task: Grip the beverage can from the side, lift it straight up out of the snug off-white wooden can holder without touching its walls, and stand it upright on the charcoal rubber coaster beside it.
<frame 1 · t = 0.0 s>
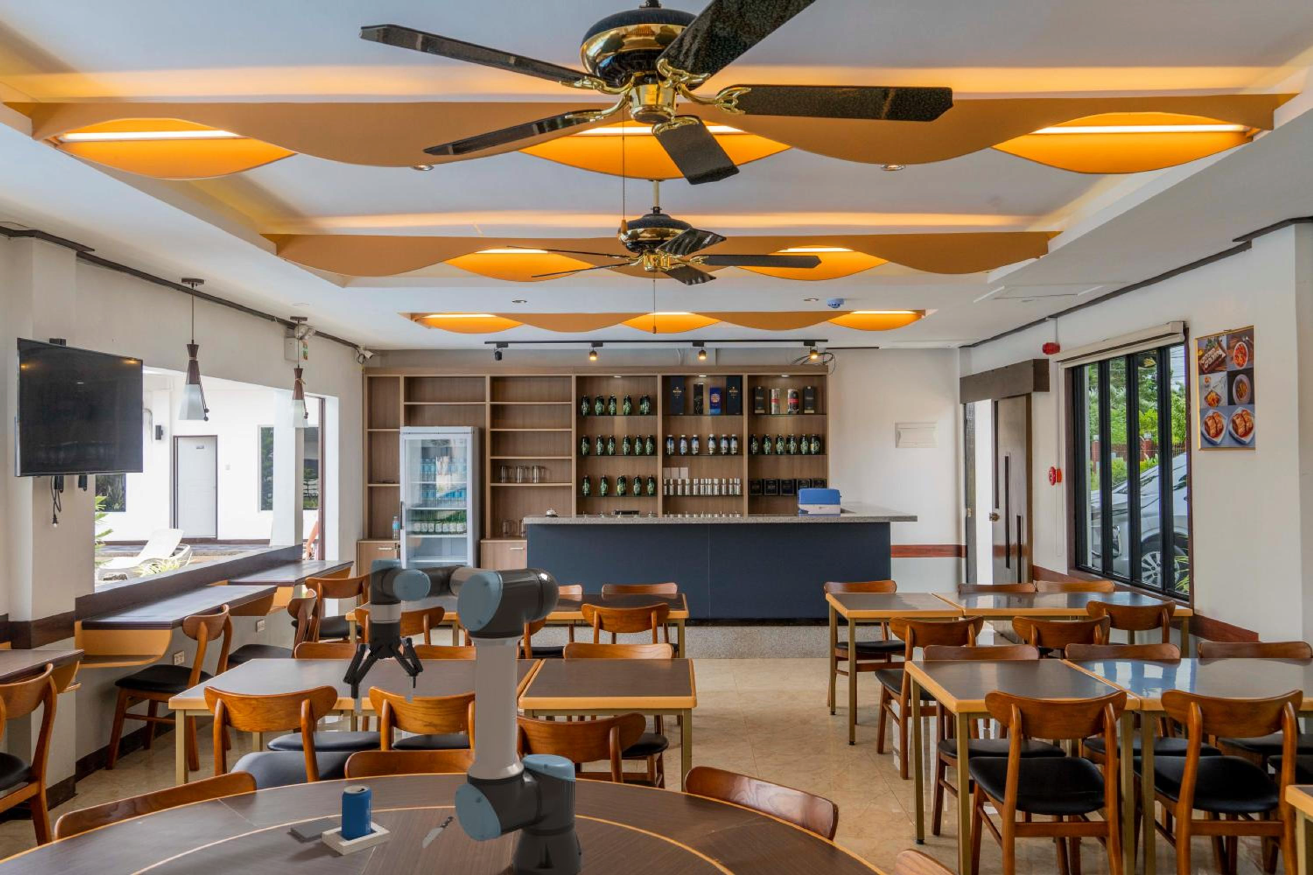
hand: (383, 706, 211), 28 cm above the table, tool pointing down, fingers open, 13 cm apart
can holder: (355, 840, 198), on the table
coaster: (317, 831, 204), on the table
beverage can: (355, 841, 198), resting in can holder
chef's knife: (433, 835, 203), on the table
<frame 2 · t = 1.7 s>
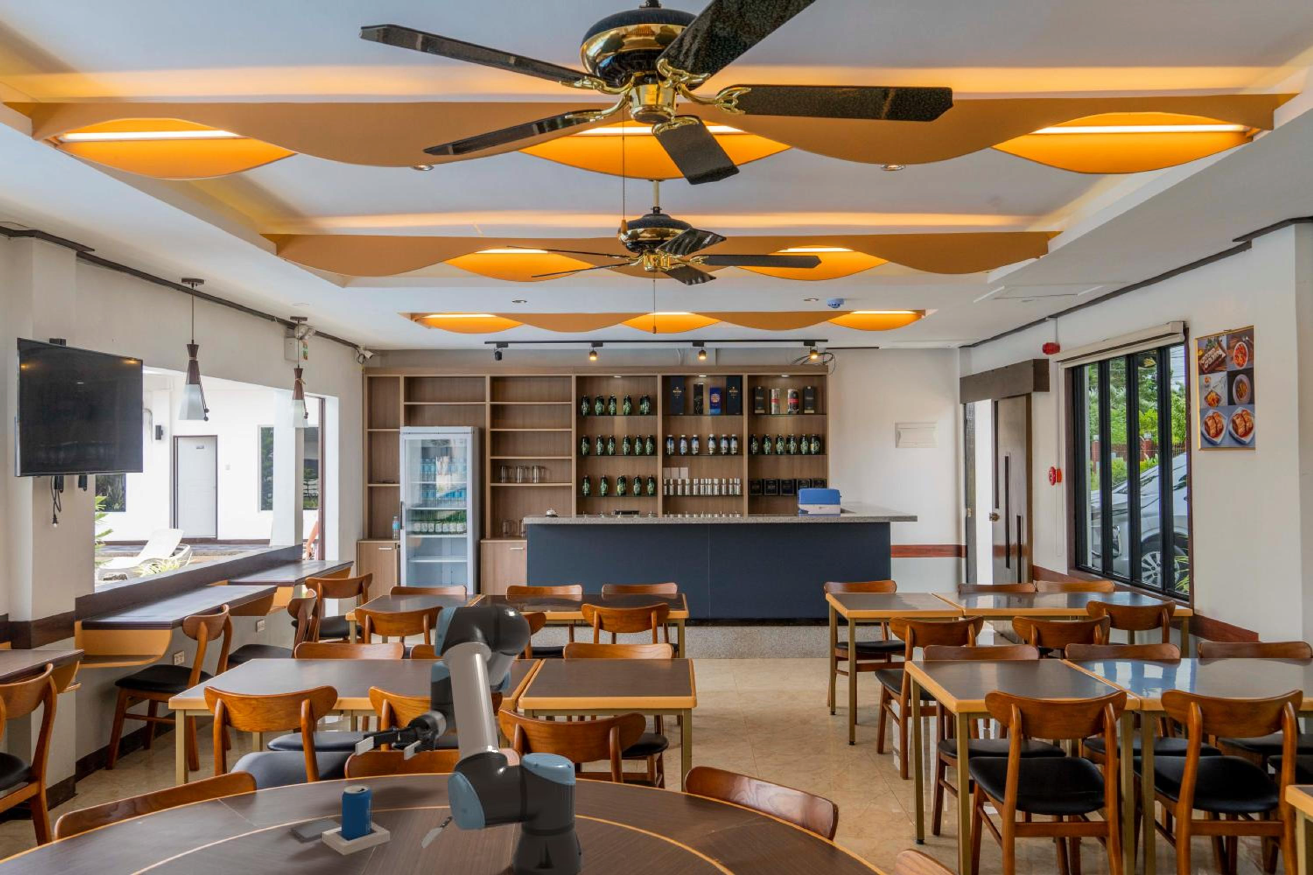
hand: (380, 751, 209), 18 cm above the table, tool horizontal, fingers open, 13 cm apart
nothing on the table moved.
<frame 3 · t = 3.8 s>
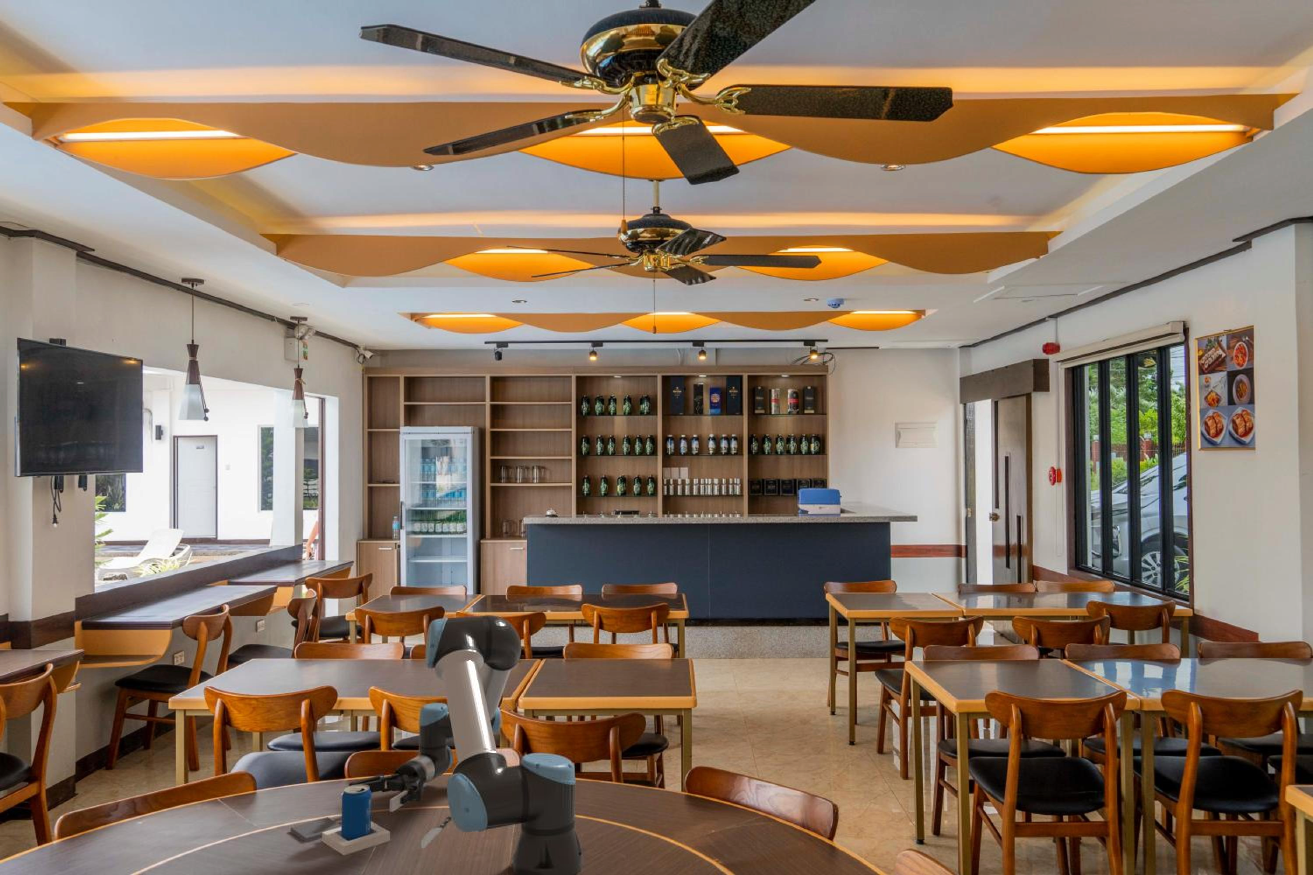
hand: (366, 802, 203), 7 cm above the table, tool horizontal, fingers open, 13 cm apart
nothing on the table moved.
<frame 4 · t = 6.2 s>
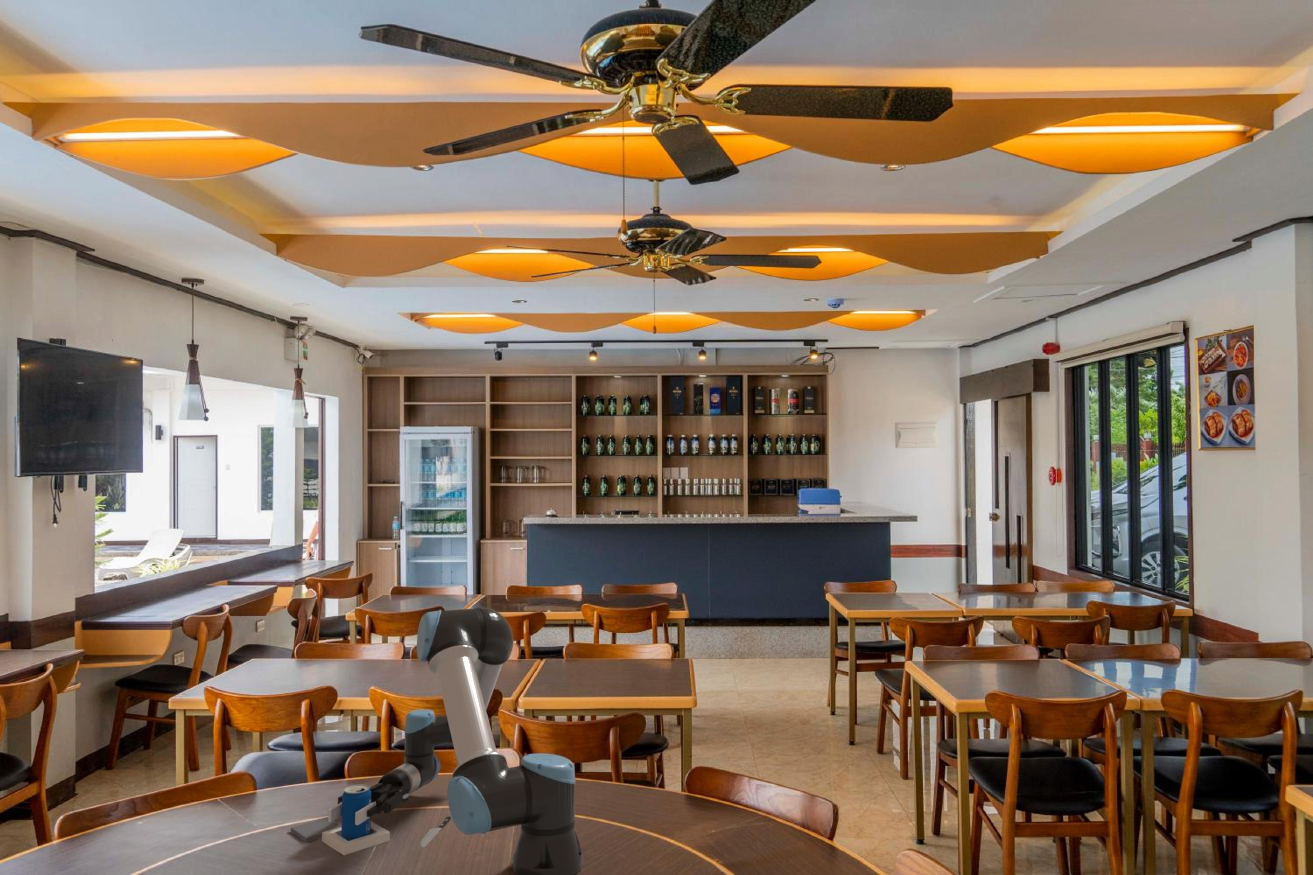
hand: (343, 817, 194), 7 cm above the table, tool horizontal, fingers closed on beverage can, 6 cm apart
beverage can: (355, 841, 198), resting in can holder, touching gripper
everything else where it was.
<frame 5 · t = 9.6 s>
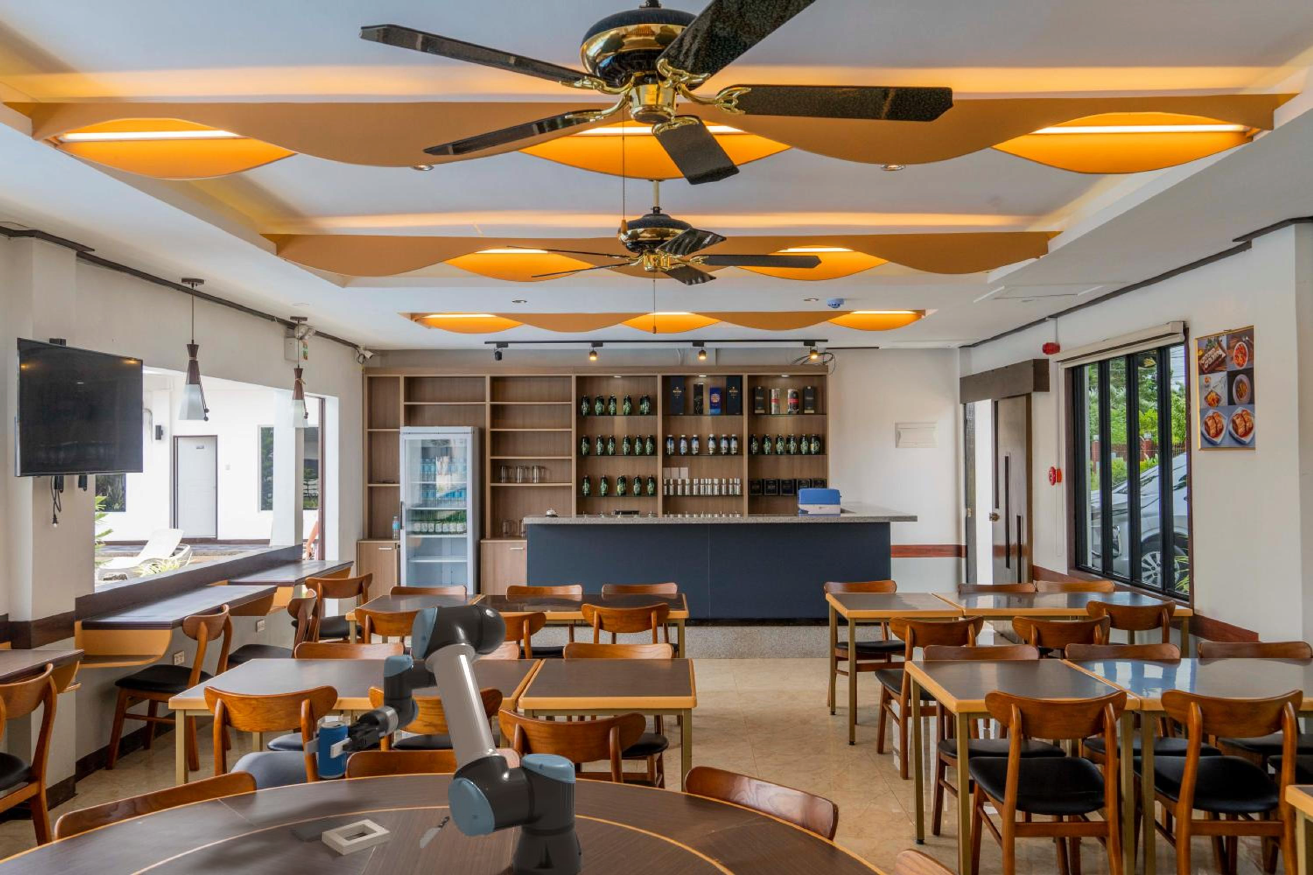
hand: (319, 750, 199), 21 cm above the table, tool horizontal, fingers closed on beverage can, 6 cm apart
beverage can: (332, 775, 204), point 13 cm above the table, touching gripper
everything else where it was.
when the fingers open (10 cm above the table, at t = 12.7 s): beverage can drops 1 cm, resting on coaster.
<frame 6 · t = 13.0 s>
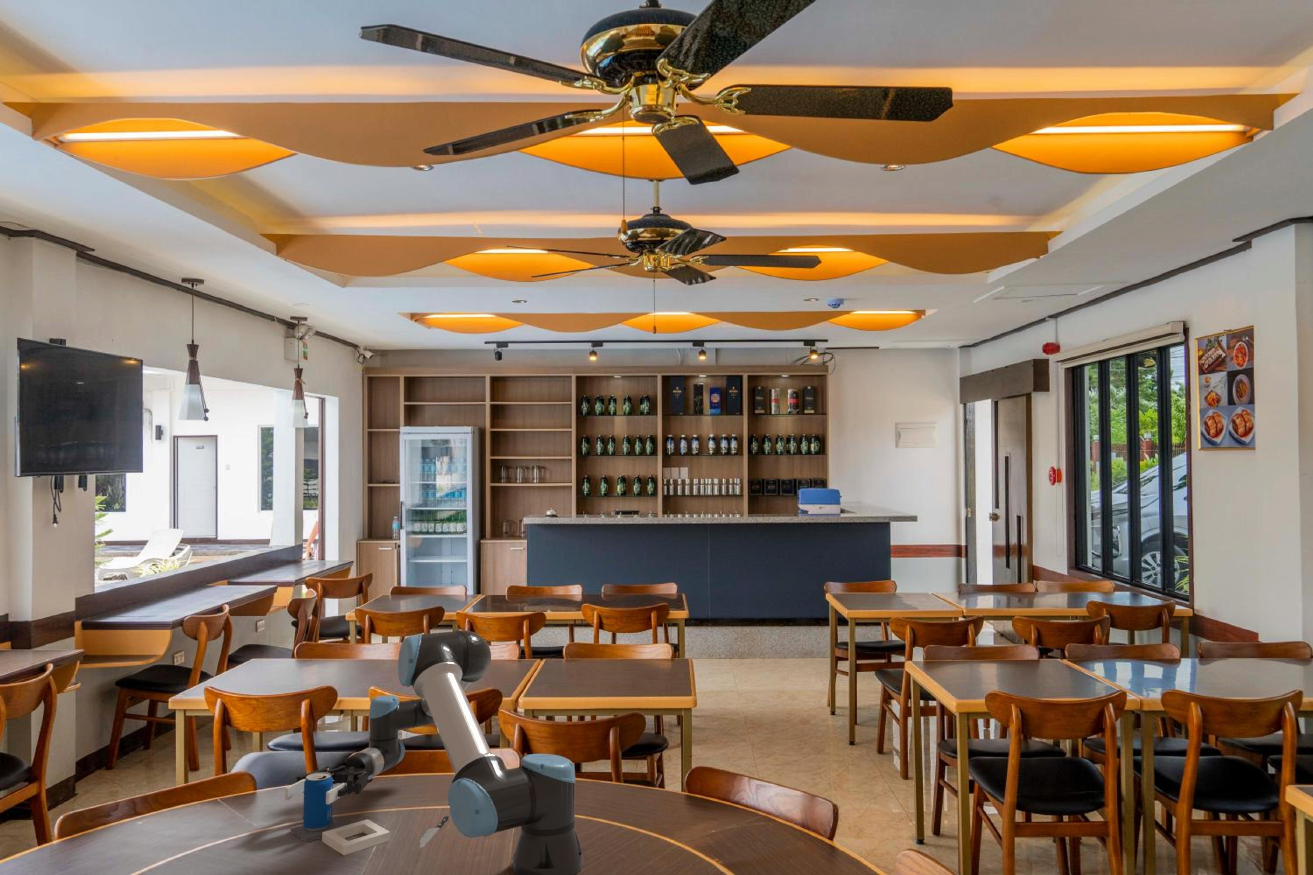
hand: (306, 795, 201), 10 cm above the table, tool horizontal, fingers open, 10 cm apart
beverage can: (317, 827, 204), point 1 cm above the table, touching coaster
everything else where it was.
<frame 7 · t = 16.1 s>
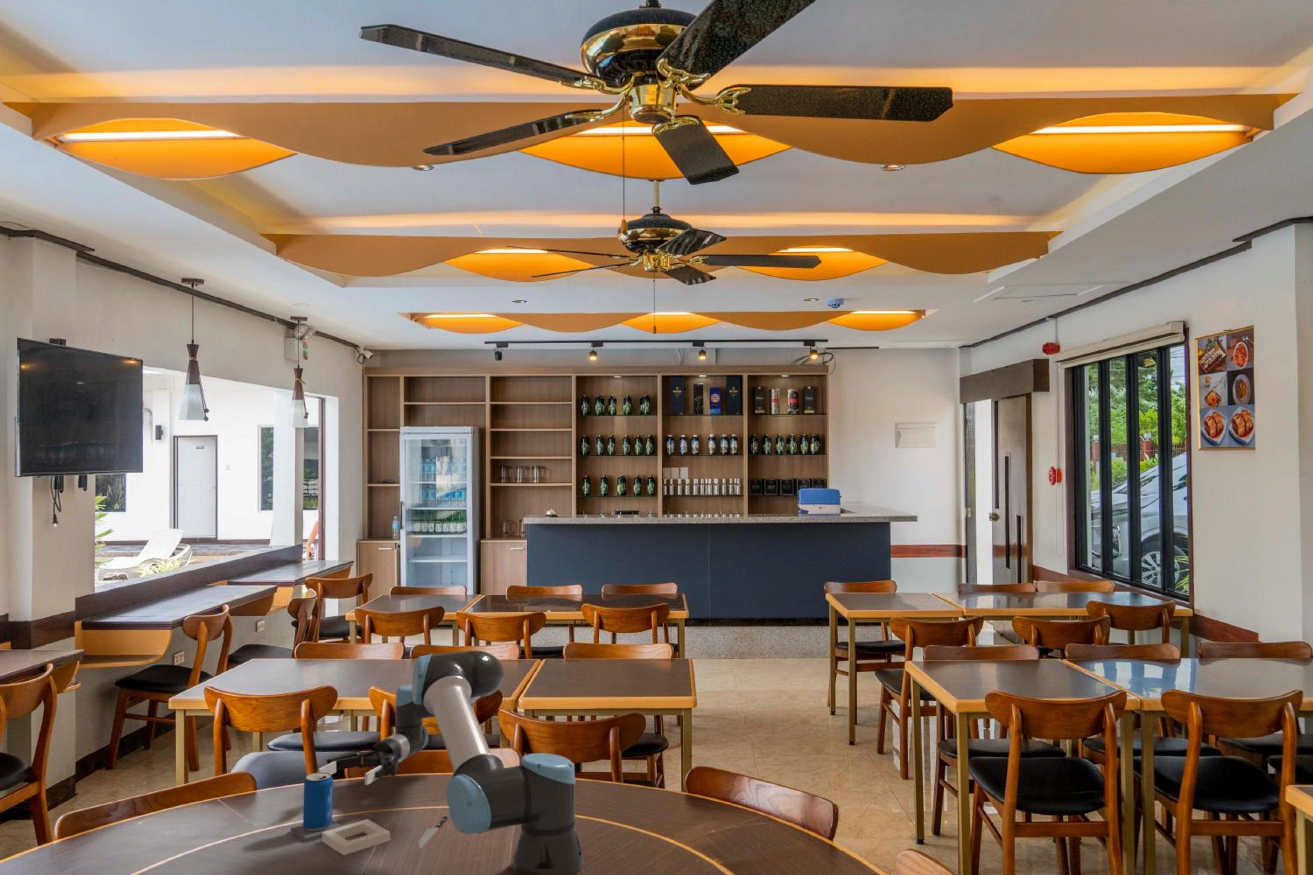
hand: (342, 776, 214), 10 cm above the table, tool horizontal, fingers open, 13 cm apart
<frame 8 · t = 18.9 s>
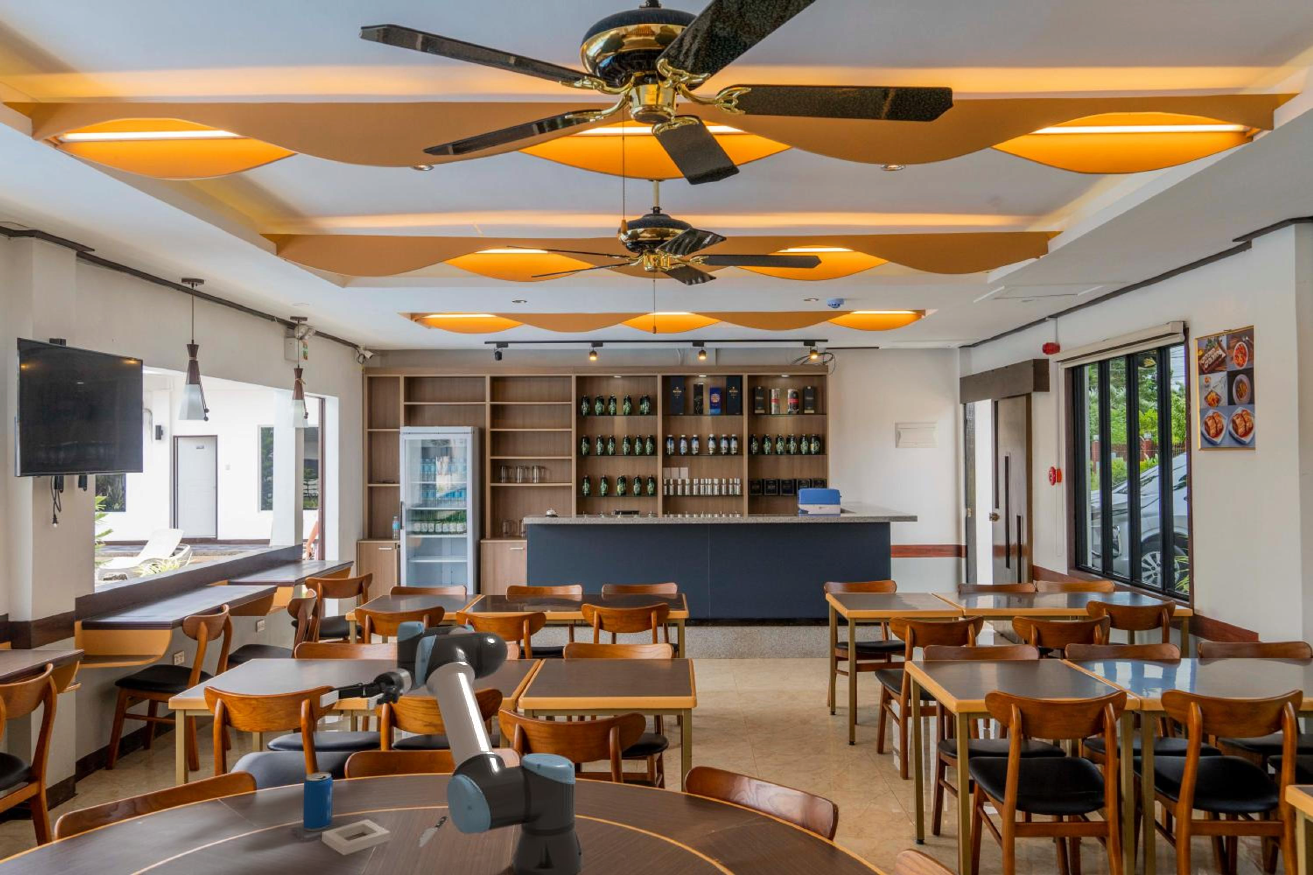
hand: (344, 703, 215), 28 cm above the table, tool horizontal, fingers open, 13 cm apart
at the end: beverage can 0.1 cm off-centre on the coaster, point 0.8 cm above the coaster's base; beverage can tilted 0°; beverage can touching coaster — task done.
